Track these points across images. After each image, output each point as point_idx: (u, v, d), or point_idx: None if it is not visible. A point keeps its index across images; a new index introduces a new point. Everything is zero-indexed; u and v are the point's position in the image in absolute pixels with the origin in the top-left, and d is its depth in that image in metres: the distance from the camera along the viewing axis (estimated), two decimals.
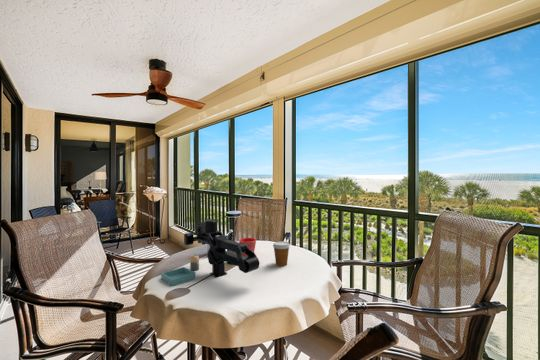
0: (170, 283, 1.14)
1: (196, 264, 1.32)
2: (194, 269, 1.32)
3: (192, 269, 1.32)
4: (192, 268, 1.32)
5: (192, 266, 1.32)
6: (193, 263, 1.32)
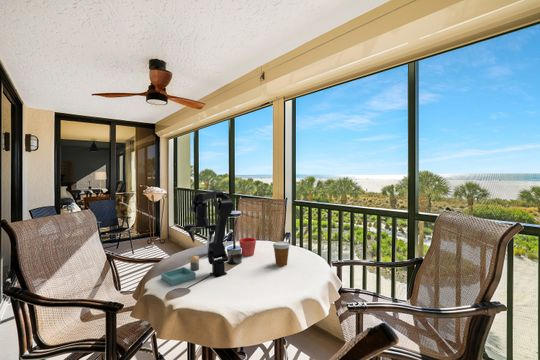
0: (170, 283, 1.14)
1: (196, 264, 1.32)
2: (194, 269, 1.32)
3: (192, 269, 1.32)
4: (192, 268, 1.32)
5: (192, 266, 1.32)
6: (193, 263, 1.32)
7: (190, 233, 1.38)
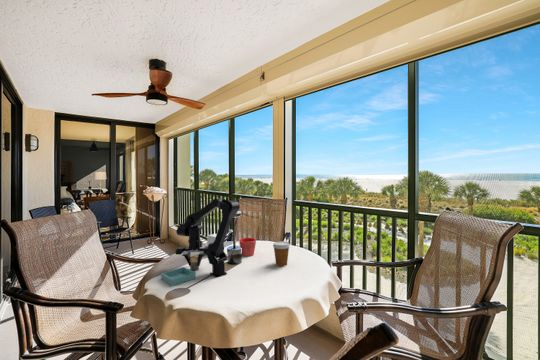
0: (170, 283, 1.14)
1: (196, 264, 1.32)
2: (194, 269, 1.32)
3: (192, 269, 1.32)
4: (192, 268, 1.32)
5: (192, 266, 1.32)
6: (193, 263, 1.32)
7: (186, 257, 1.31)
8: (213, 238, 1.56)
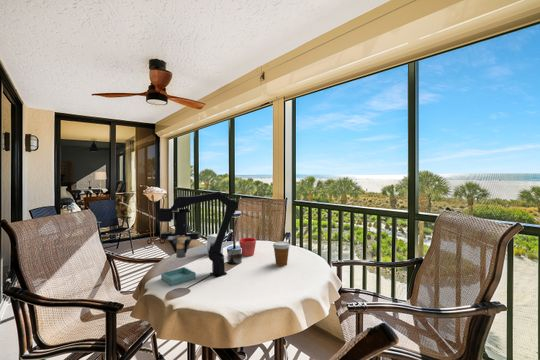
0: (170, 283, 1.14)
1: (182, 250, 1.22)
2: (180, 256, 1.21)
3: (178, 256, 1.21)
4: (178, 255, 1.21)
5: (178, 252, 1.21)
6: (179, 249, 1.21)
7: (172, 242, 1.21)
8: (213, 238, 1.56)
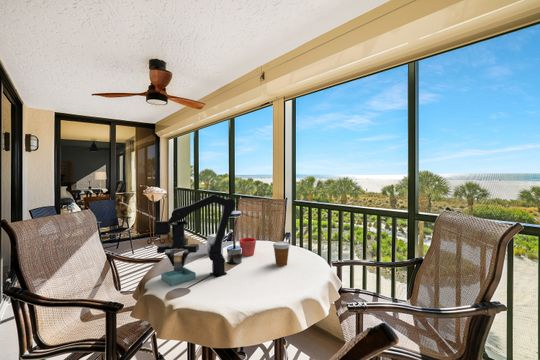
0: (170, 283, 1.14)
1: (180, 264, 1.19)
2: (178, 269, 1.19)
3: (175, 269, 1.19)
4: (175, 268, 1.19)
5: (175, 266, 1.19)
6: (176, 262, 1.19)
7: (169, 256, 1.18)
8: (213, 238, 1.56)
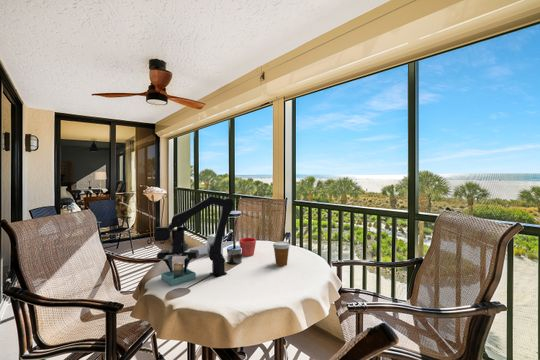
0: (170, 283, 1.14)
1: (180, 272, 1.19)
2: None
3: (175, 277, 1.19)
4: (175, 276, 1.19)
5: (175, 274, 1.19)
6: (176, 270, 1.19)
7: (167, 262, 1.18)
8: (213, 238, 1.56)
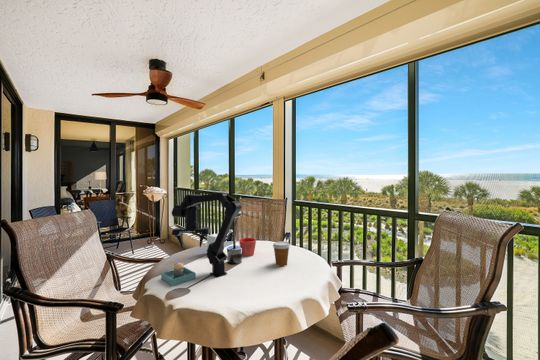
0: (170, 283, 1.14)
1: (180, 272, 1.19)
2: None
3: (175, 277, 1.19)
4: (175, 276, 1.19)
5: (175, 274, 1.19)
6: (176, 270, 1.19)
7: (179, 238, 1.29)
8: (213, 238, 1.56)
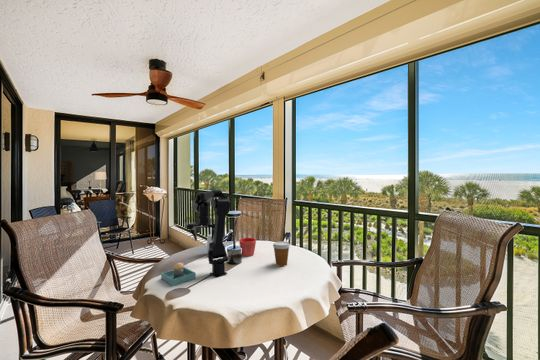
0: (170, 283, 1.14)
1: (180, 272, 1.19)
2: None
3: (175, 277, 1.19)
4: (175, 276, 1.19)
5: (175, 274, 1.19)
6: (176, 270, 1.19)
7: (193, 232, 1.41)
8: None
